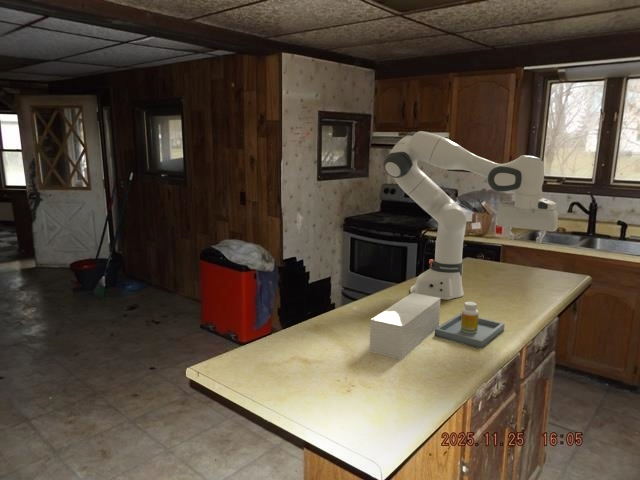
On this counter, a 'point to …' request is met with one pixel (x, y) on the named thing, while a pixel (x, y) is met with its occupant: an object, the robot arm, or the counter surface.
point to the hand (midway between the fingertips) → (524, 240)
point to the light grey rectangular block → (404, 325)
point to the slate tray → (479, 339)
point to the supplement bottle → (469, 318)
